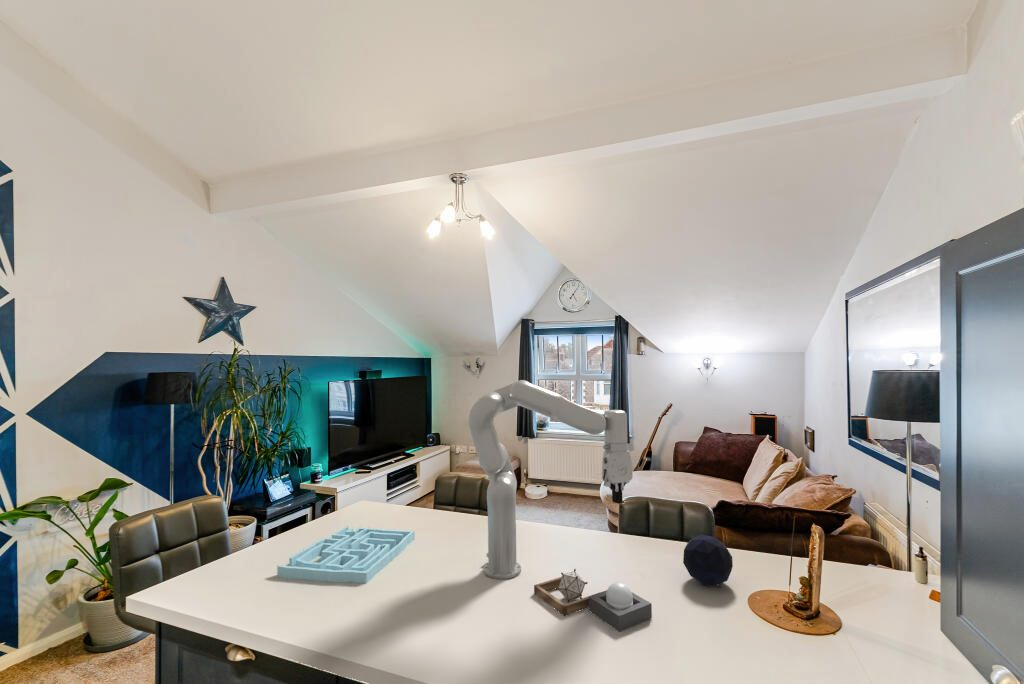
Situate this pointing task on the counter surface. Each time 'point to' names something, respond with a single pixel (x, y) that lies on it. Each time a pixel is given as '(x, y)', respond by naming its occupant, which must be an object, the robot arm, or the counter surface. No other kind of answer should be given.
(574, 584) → the game die
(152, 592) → the counter surface
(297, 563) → the maze
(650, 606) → the dome base
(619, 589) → the dome
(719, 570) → the decorative orb
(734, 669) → the counter surface
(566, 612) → the walnut bay
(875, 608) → the counter surface
